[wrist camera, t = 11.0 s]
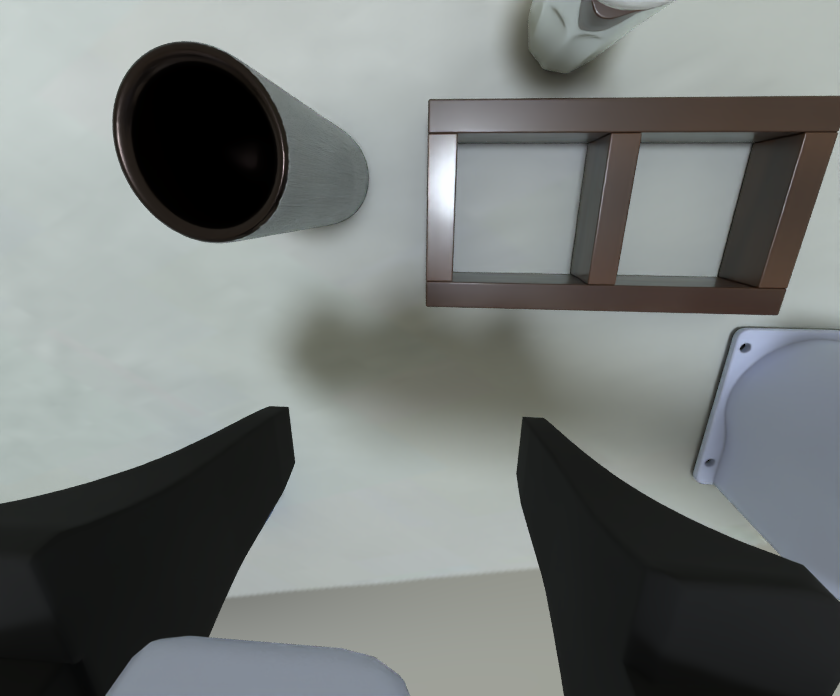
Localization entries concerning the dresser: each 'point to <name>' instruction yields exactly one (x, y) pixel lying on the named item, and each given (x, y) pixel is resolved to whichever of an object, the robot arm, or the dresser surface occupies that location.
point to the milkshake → (582, 28)
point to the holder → (611, 191)
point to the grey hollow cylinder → (229, 149)
